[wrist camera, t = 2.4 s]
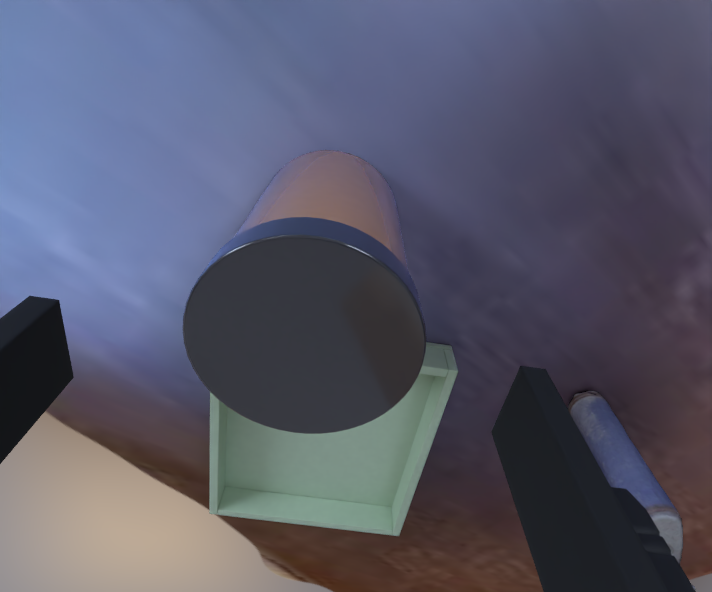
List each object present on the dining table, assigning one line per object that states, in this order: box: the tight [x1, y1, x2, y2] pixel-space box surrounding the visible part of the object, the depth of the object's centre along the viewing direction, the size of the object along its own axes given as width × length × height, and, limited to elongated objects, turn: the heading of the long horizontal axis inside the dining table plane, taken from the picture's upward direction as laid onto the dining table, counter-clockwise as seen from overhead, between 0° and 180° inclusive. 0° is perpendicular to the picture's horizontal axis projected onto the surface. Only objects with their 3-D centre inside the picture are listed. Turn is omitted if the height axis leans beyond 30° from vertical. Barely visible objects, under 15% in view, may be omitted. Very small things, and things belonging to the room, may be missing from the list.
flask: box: [568, 391, 696, 590], centre depth 27 cm, size 9×3×11 cm, turn 11°
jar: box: [183, 150, 426, 434], centre depth 19 cm, size 8×8×12 cm
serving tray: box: [210, 342, 458, 536], centre depth 30 cm, size 14×16×2 cm
